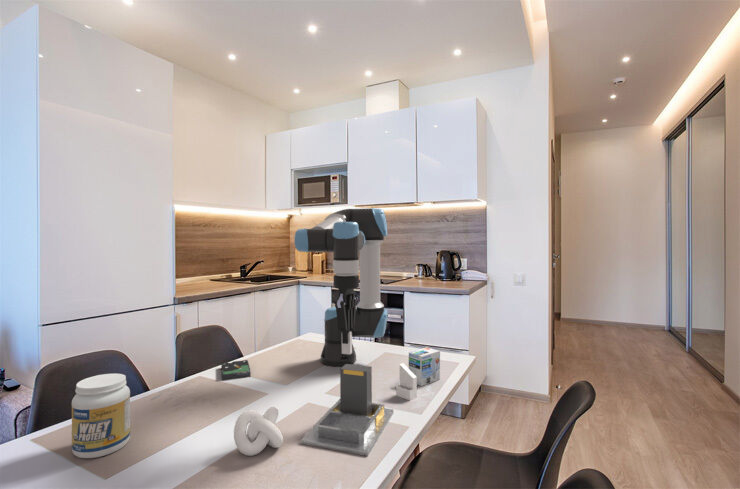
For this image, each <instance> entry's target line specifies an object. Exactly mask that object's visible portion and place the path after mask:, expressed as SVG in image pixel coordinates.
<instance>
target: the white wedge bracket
mask: <svg viewBox="0 0 740 489" xmlns="http://www.w3.org/2000/svg"><path fill="white" fill-rule="evenodd" d="M395 387H396V388H395V396H396V397H399V398H401V399H402V398H403V399H405V400H408V401H412V400H413V399H416V398H417V397H418V396H417V392H418V389H417V387H418V385H417V377H416V376H415V375H414V374H413V373H412V372H411V371H410V370H409V367H408V366H407V365H405V363H403V362H402V363H399V384H398V385H396V386H395Z"/></svg>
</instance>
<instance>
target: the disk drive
mask: <svg viewBox="0 0 740 489" xmlns="http://www.w3.org/2000/svg"><path fill="white" fill-rule="evenodd" d="M220 364H221V367H220V368H221V381H229V380H237V379H244V378H245V379H246V378H250V377H251V375H252V374H251V373H252V372H251V368H250V364H249V361H248V359H245V360H234V361H232V362H228V361H227V362H221V363H220Z"/></svg>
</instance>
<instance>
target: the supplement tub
mask: <svg viewBox="0 0 740 489" xmlns="http://www.w3.org/2000/svg"><path fill="white" fill-rule="evenodd" d="M74 391H75V395H74V397H73V398H72V400H71V450H72V453H73V455H74V456H76V457H77V458H79V459H95V458H100V457H103V456H107V455H110V454H113V453H115V452H117V451H119V450H120V449H122V448H123V447H125V445H126V444H127V443H128V442H129V441H130V439H131V390H130V387H129V386H128V385H127V377H126V374H123V373H116V372H115V373H104V374H103V373H102V374H97V375H94V376H90V377H87V378H83V379H82V380H80V381H78V382H77V383H76V385H75V390H74Z"/></svg>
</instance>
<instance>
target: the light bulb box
mask: <svg viewBox="0 0 740 489" xmlns="http://www.w3.org/2000/svg"><path fill="white" fill-rule="evenodd" d="M408 369H409V370H410V371H411V372H412V373H413V374H414V375H415V376H416V377H417V386H420V387H423V386H426V385H428V384H432V383H434V382H437V381H439V380H440V379H441V350H437V349H434V348H430V347H427V346H426V347H424V348H420V349H417V350H413V351H409V352H408Z"/></svg>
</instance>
